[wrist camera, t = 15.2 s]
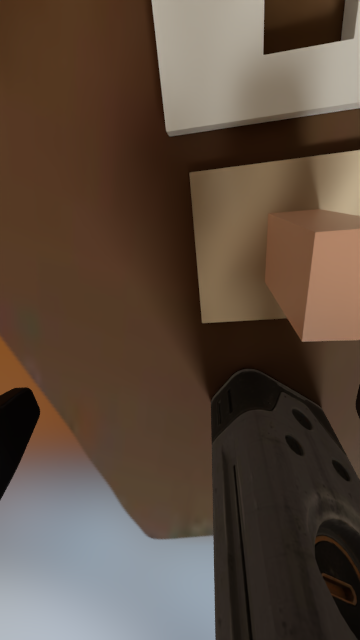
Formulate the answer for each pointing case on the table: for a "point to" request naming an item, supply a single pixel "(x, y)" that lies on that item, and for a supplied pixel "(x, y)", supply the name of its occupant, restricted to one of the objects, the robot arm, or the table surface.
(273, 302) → the pad
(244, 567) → the electronic device
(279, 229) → the plug
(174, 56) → the white slotted plate
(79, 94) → the table surface
